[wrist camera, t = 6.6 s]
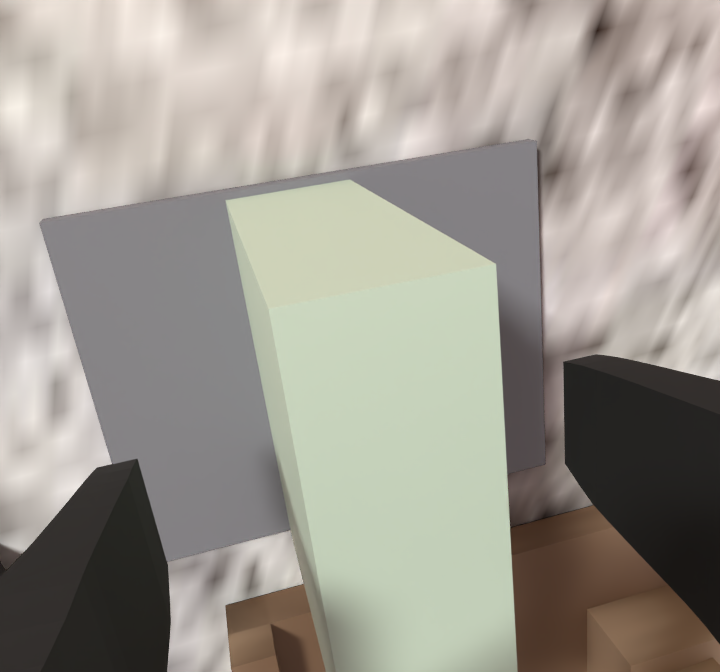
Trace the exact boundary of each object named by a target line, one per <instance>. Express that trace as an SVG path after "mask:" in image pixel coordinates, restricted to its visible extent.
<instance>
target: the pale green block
mask: <svg viewBox="0 0 720 672" xmlns="http://www.w3.org/2000/svg"><path fill="white" fill-rule="evenodd" d="M225 201H226V206H227V211H228V216H229V221H230V226H231V231H232V236H233V241H234V246H235V251H236V256H237V261H238V266H239V271H240V276H241V281H242V286H243V292H244V297H245V302H246V307H247V312H248V317H249V322H250V327H251V332H252V337H253V342H254V347H255V352H256V357H257V362H258V367H259V372H260V377H261V383H262V388H263V393H264V398H265V403H266V408H267V413H268V418H269V423H270V428H271V433H272V438H273V443H274V448H275V453H276V458H277V463H278V468H279V474H280V479H281V484H282V489H283V494H284V499H285V504H286V509H287V514H288V519H289V524H290V529H291V534H292V538H293V542H294V546H295V550H296V554H297V558H298V562H299V566H300V570H301V574H302V578H303V582H304V586H305V590H306V594H307V598H308V602H309V606H310V610H311V614H312V618H313V622H314V626H315V630H316V634H317V638H318V642H319V646H320V650H321V654H322V658H323V662H324V666H325V670H326V672H518V671H517V652H516V633H515V614H514V595H513V576H512V557H511V538H510V519H509V500H508V481H507V462H506V443H505V423H504V404H503V385H502V366H501V347H500V328H499V309H498V290H497V271H496V264H495V263H494V262H492V261H490V260H488V259H487V258H485V257H483V256H481V255H480V254H478V253H476V252H475V251H473V250H471V249H469V248H468V247H466V246H464V245H462V244H461V243H459V242H457V241H455V240H454V239H452V238H450V237H449V236H447V235H445V234H443V233H442V232H440V231H438V230H436V229H435V228H433V227H431V226H430V225H428V224H426V223H424V222H423V221H421V220H419V219H417V218H416V217H414V216H412V215H410V214H409V213H407V212H405V211H404V210H402V209H400V208H398V207H397V206H395V205H393V204H391V203H390V202H388V201H386V200H385V199H383V198H381V197H379V196H378V195H376V194H374V193H372V192H371V191H369V190H367V189H365V188H364V187H362V186H360V185H359V184H357V183H355V182H353V181H352V180H344V181H338V182H332V183H326V184H320V185H314V186H308V187H302V188H296V189H290V190H284V191H278V192H272V193H266V194H260V195H254V196H248V197H242V198H236V199H230V200H225Z"/></svg>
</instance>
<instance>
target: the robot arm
mask: <svg viewBox="0 0 720 672" xmlns="http://www.w3.org/2000/svg"><path fill="white" fill-rule="evenodd" d="M563 365H564V426H565V464H566V466H567V467H568V469H569V470H570V472H571V473H572V475H573V476H574V478H575V479H576V481H577V482H578V484H579V485H580V487H581V488H582V489H583V491H584V492H585V494H586V495H587V496H588V498H589V499H590V500H591V502H592V503H593V505H594V506H595V507H596V508H597V510H598V511H599V512H600V513H601V514H602V515H603V516H604V517H605V518H606V520H607V521H608V522H609V523H610V524H611V525H612V526H613V527H614V528H615V529H616V530H617V531H618V532H619V534H620V535H621V536H622V537H623V538H624V539H625V540H626V541H627V542H628V543H629V544H630V545H631V546H632V547H633V548H634V550H635V551H636V552H637V553H638V554H639V555H640V556H641V557H642V558H643V559H644V560H645V561H646V562H647V563H648V564H649V565H650V566H651V567H652V568H653V570H654V571H655V572H656V573H657V574H658V575H659V576H660V577H661V578H662V579H663V580H664V581H665V582H666V583H667V584H668V585H669V586H670V587H671V588H672V590H673V591H674V592H675V593H676V594H677V595H678V596H679V597H680V598H681V599H682V600H683V601H684V602H685V603H686V604H687V606H688V607H689V608H690V609H691V610H692V611H693V612H694V614H695V615H696V616H697V617H698V618H699V619H700V620H701V622H702V623H703V624H704V625H705V626H706V627H707V629H708V630H709V631H710V633H711V634H712V635H713V636H714V638H715V639H716V640H717V642H718V643H719V644H720V381H718V380H714V379H709V378H705V377H701V376H697V375H693V374H688V373H684V372H680V371H676V370H672V369H668V368H663V367H659V366H655V365H651V364H647V363H642V362H638V361H633V360H628V359H624V358H618V357H612V356H605V355H591V356H587V357H583V358H578V359H574V360H569V361H565V362H563ZM170 625H171V618H170V595H169V578H168V564H167V561H166V557H165V554H164V550H163V547H162V543H161V540H160V536H159V532H158V529H157V525H156V522H155V518H154V515H153V511H152V508H151V504H150V501H149V497H148V494H147V490H146V487H145V483H144V480H143V476H142V473H141V469H140V466H139V462H138V459H133V460H129V461H124V462H120V463H116V464H111V465H107V466H102V467H98V468H96V469H95V470H94V471H93V472H92V473H91V475H90V476H89V477H88V478H87V479H86V480H85V482H84V483H83V484H82V485H81V486H80V488H79V489H78V490H77V491H76V492H75V494H74V495H73V496H72V497H71V498H70V500H69V501H68V502H67V503H66V504H65V506H64V507H63V508H62V509H61V510H60V512H59V513H58V514H57V515H56V516H55V517H54V519H53V520H52V521H51V522H50V523H49V524H48V526H47V527H46V528H45V529H44V530H43V532H42V533H41V534H40V535H39V536H38V537H37V539H36V540H35V541H34V542H33V543H32V544H31V545H30V546H29V547H28V549H27V550H26V551H25V552H24V553H23V554H22V555H21V556H20V557H19V558H18V559H17V560H16V561H15V562H14V563H13V564H12V565H11V566H10V567H9V569H8V570H7V571H6V572H5V573H4V574H3V575H2V576H1V577H0V672H167V665H168V652H169V639H170Z"/></svg>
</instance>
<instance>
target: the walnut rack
mask: <svg viewBox="0 0 720 672" xmlns="http://www.w3.org/2000/svg"><path fill="white" fill-rule="evenodd" d="M510 538H511V557H512V576H513V595H514V614H515V633H516V652H517V671H518V672H587V609H590V608H593V607H596V606H600V605H603V604H606V603H609V602H613V601H616V600H619V599H623V598H626V597H629V596H633V595H636V594H639V593H643V592H646V591H649V590H653V589H656V588H659V587H663V586H666V585H668V584H667V583H666V582H665V581H664V580H663V579H662V578H661V577H660V576H659V575H658V574H657V573H656V572H655V571H654V570H653V568H652V567H651V566H650V565H649V564H648V563H647V562H646V561H645V560H644V559H643V558H642V557H641V556H640V555H639V554H638V553H637V552H636V551H635V550H634V548H633V547H632V546H631V545H630V544H629V543H628V542H627V541H626V540H625V539H624V538H623V537H622V536H621V535H620V534H619V532H618V531H617V530H616V529H615V528H614V527H613V526H612V525H611V524H610V523H609V522H608V521H607V520H606V518H605V517H604V516H603V515H602V514H601V513H600V512H599V511H598V510H597V508H596V507H595V506H594V505H593V506H589V507H586V508H582V509H578V510H575V511H571V512H567V513H564V514H560V515H556V516H553V517H549V518H545V519H542V520H538V521H534V522H531V523H527V524H523V525H520V526H516V527H512V528H510ZM226 617H227V628H228V639H229V650H230V661H231V670H232V672H326V670H325V666H324V662H323V658H322V654H321V650H320V646H319V642H318V638H317V634H316V630H315V626H314V622H313V618H312V614H311V610H310V606H309V602H308V598H307V594H306V590H305V586H304V584H303V585H299V586H296V587H292V588H288V589H285V590H281V591H277V592H274V593H270V594H266V595H263V596H259V597H255V598H252V599H248V600H244V601H240V602H237V603H233V604H229V605H226Z"/></svg>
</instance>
